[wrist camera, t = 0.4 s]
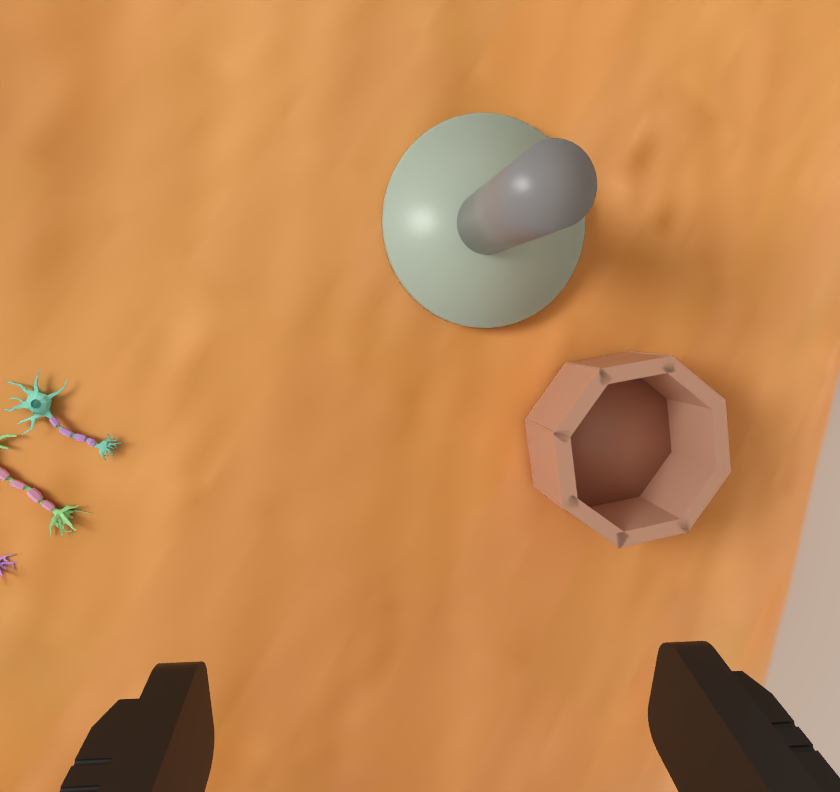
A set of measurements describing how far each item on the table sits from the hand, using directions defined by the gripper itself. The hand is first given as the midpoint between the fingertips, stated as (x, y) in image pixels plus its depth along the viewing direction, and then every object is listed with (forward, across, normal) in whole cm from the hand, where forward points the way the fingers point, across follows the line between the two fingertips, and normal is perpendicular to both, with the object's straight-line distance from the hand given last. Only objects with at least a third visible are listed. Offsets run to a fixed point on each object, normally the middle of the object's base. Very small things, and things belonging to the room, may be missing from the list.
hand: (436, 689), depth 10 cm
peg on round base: (+28, -6, -7) cm, 29 cm away
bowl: (+26, -14, +6) cm, 30 cm away
